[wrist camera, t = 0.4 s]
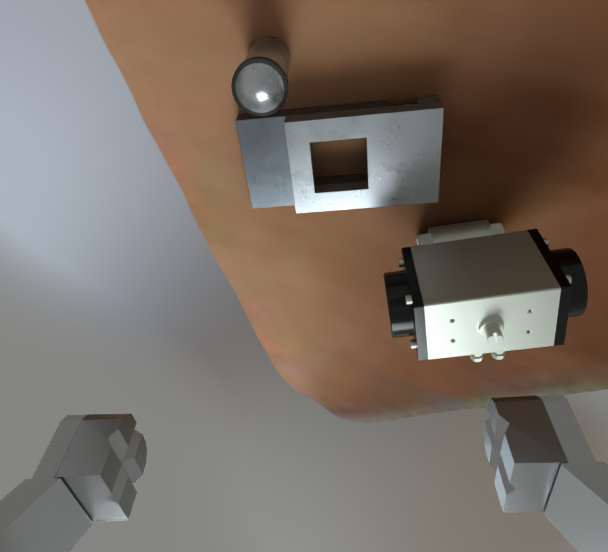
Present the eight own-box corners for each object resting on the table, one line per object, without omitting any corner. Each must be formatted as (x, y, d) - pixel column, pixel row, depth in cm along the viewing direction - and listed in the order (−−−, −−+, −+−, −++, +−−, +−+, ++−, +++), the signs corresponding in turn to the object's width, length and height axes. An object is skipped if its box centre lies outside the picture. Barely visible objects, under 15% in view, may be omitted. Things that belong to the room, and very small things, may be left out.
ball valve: (383, 275, 64) (399, 385, 50) (375, 218, 59) (390, 322, 45) (532, 255, 61) (594, 365, 47) (538, 193, 56) (608, 295, 42)
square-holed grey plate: (238, 114, 52) (232, 127, 49) (437, 95, 50) (443, 107, 47) (254, 200, 58) (250, 216, 55) (432, 186, 56) (438, 202, 53)
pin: (241, 35, 48) (226, 62, 40) (290, 30, 47) (283, 56, 40) (249, 85, 50) (237, 118, 43) (296, 81, 50) (291, 113, 43)
